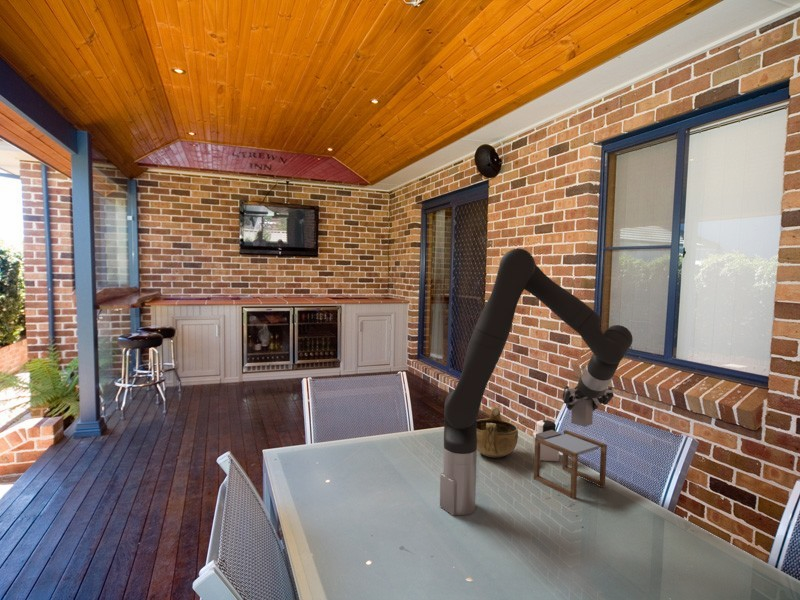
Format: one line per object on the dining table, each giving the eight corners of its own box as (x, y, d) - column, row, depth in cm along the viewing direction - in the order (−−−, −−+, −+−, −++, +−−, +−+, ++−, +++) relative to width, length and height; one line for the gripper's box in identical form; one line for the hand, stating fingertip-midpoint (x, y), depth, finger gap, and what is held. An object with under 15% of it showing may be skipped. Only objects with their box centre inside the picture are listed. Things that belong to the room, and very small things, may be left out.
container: (553, 453, 168) (554, 418, 167) (558, 461, 160) (559, 425, 160) (532, 452, 169) (533, 417, 168) (536, 460, 161) (537, 424, 160)
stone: (585, 426, 136) (586, 394, 135) (571, 423, 139) (572, 391, 139) (592, 423, 139) (593, 391, 138) (578, 420, 142) (579, 388, 142)
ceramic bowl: (474, 441, 179) (475, 403, 178) (518, 446, 174) (519, 408, 173) (465, 463, 158) (466, 421, 157) (516, 470, 153) (517, 426, 152)
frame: (573, 499, 134) (575, 454, 133) (533, 478, 147) (535, 438, 146) (605, 486, 142) (606, 444, 141) (564, 468, 155) (566, 430, 154)
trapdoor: (573, 457, 135) (573, 452, 135) (531, 439, 149) (531, 435, 149) (599, 449, 142) (599, 444, 141) (556, 433, 156) (556, 428, 155)
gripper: (618, 368, 130) (601, 398, 143) (567, 367, 131) (554, 396, 144) (625, 391, 125) (607, 419, 138) (572, 389, 126) (558, 418, 139)
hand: (580, 407), depth 141 cm, fingers closed on stone, 6 cm apart
